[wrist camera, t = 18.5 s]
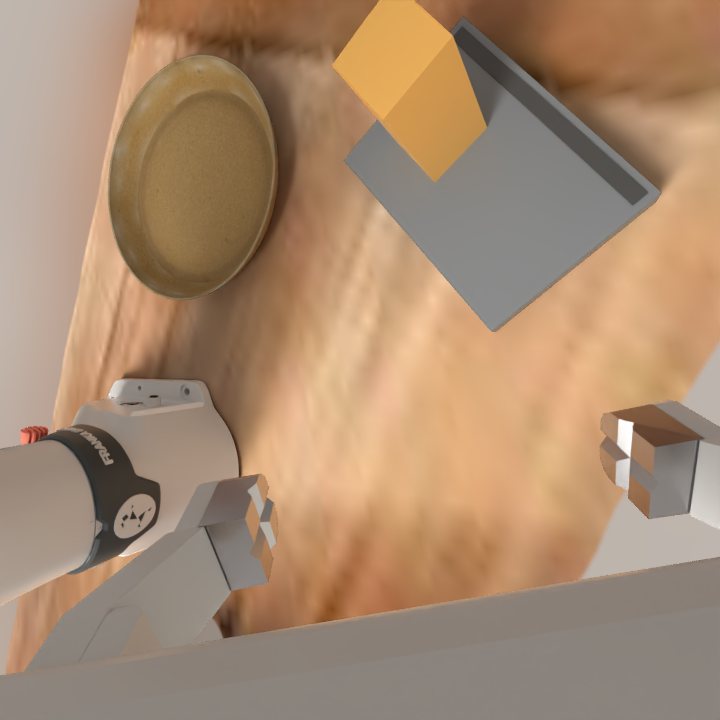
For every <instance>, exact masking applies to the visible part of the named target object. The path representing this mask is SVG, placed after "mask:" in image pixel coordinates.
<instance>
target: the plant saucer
mask: <svg viewBox="0 0 720 720" xmlns="http://www.w3.org/2000/svg"><path fill="white" fill-rule="evenodd" d="M277 186H278V153H277V145H276V139H275V134H274V129H273V126H272V122H271V119H270V116H269V113H268V111H267V108H266V106H265V104H264V102H263V100H262V98H261V96H260V94H259V92H258V90H257V89H256V87H255V86H254V84H253V83H252V81H251V80H250V79H249V78H248V76H247V75H246V74H245V73H244V72H243V71H242V70H240V69H239V68H238V67H237V66H235V65H234V64H232V63H230V62H229V61H227V60H225V59H222V58H219V57H216V56H211V55H193V56H189V57H185V58H182V59H179V60H177V61H175V62H173V63H171V64H169V65H167V66H166V67H164V68H163V69H162V70H160V71H159V72H158V73H157V74H155V75H154V76H153V77H152V78H151V79H150V80H149V81H148V82H147V83H146V84H145V86H144V87H143V88H142V89H141V91H140V92H139V93H138V94H137V96H136V97H135V99H134V101H133V102H132V104H131V105H130V107H129V109H128V111H127V113H126V115H125V117H124V119H123V121H122V124H121V126H120V129H119V131H118V134H117V138H116V141H115V145H114V148H113V152H112V157H111V163H110V169H109V179H108V206H109V215H110V222H111V226H112V230H113V235H114V238H115V242H116V245H117V247H118V250H119V252H120V254H121V256H122V259H123V260H124V262H125V264H126V266H127V267H128V269H129V270H130V272H131V273H132V274H133V276H134V277H135V278H136V279H137V280H138V281H139V282H140V283H141V284H142V285H143V286H145V287H146V288H147V289H148V290H150V291H151V292H153V293H155V294H157V295H159V296H161V297H164V298H167V299H172V300H190V299H195V298H199V297H202V296H205V295H207V294H209V293H212V292H214V291H216V290H217V289H219V288H221V287H222V286H224V285H225V284H227V283H228V282H229V281H230V280H232V279H233V278H234V277H235V276H236V275H237V274H238V273H239V272H240V271H241V270H242V269H243V268H244V267H245V266H246V264H247V263H248V262H249V260H250V259H251V258H252V256H253V255H254V253H255V252H256V250H257V248H258V247H259V245H260V243H261V241H262V239H263V237H264V235H265V233H266V231H267V228H268V225H269V223H270V220H271V216H272V213H273V209H274V204H275V199H276V194H277Z"/></svg>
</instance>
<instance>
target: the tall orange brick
mask: <svg viewBox="0 0 720 720" xmlns="http://www.w3.org/2000/svg"><path fill="white" fill-rule="evenodd" d="M332 67H333V68H334V69H335V70H336V71H337V73H338V74H339V75H340V76H341V77H342V78H343V80H344V81H345V82H346V83H347V84H348V85H349V87H350V88H351V89H352V90H353V91H354V93H355V94H356V95H357V96H358V97H359V98H360V100H361V101H362V102H363V103H364V104H365V105H366V107H367V108H368V109H369V110H370V111H371V112H372V114H373V115H374V116H375V117H376V118H377V120H378V121H379V122H380V123H381V124H382V125H383V127H384V128H385V129H386V130H387V131H388V132H389V134H390V135H391V136H392V137H393V138H394V139H395V141H396V142H397V143H398V144H399V145H400V146H401V147H402V148H403V149H404V150H405V151H406V152H407V153H408V155H409V156H410V157H411V158H412V159H413V160H414V161H415V162H416V163H417V164H418V165H419V166H420V167H421V168H422V169H423V171H424V172H425V173H426V174H427V175H428V176H429V177H430V178H431V179H432V180H433V181H434V182H436V181H437V180H438V179H439V178H440V177H441V176H442V175H443V174H444V173H445V172H446V171H447V170H448V169H449V167H450V166H451V165H452V164H453V163H454V162H455V161H456V160H457V159H458V158H459V157H460V156H461V155H462V154H463V153H464V152H465V151H466V150H467V148H468V147H469V146H470V145H471V144H472V143H473V142H474V141H475V140H476V139H477V138H478V137H479V136H480V135H481V134H482V133H483V132H484V131H485V130H486V128H487V126H486V123H485V121H484V118H483V115H482V112H481V110H480V107H479V104H478V102H477V99H476V96H475V94H474V91H473V88H472V86H471V83H470V80H469V77H468V75H467V72H466V69H465V67H464V64H463V61H462V59H461V56H460V53H459V51H458V48H457V45H456V42H455V40H454V37H453V35H452V34H451V33H450V32H448V31H447V30H446V29H445V28H444V27H443V26H442V25H441V24H440V23H438V22H437V21H436V20H435V19H434V18H433V17H432V16H431V15H430V14H429V13H427V12H426V11H425V10H424V9H423V8H422V7H421V6H420V5H419V4H417V3H416V2H415V1H414V0H379V2H378V3H377V4H376V6H375V7H374V8H373V10H372V11H371V13H370V14H369V15H368V17H367V18H366V19H365V21H364V22H363V23H362V25H361V26H360V27H359V29H358V30H357V32H356V33H355V34H354V36H353V37H352V38H351V40H350V41H349V42H348V44H347V45H346V47H345V48H344V49H343V51H342V52H341V53H340V55H339V56H338V57H337V59H336V60H335V62H334V63H333V64H332Z"/></svg>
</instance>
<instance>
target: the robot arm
mask: <svg viewBox="0 0 720 720" xmlns="http://www.w3.org/2000/svg"><path fill="white" fill-rule="evenodd" d="M189 391H190V392H189ZM600 429H601V431H602V432H603V433H604V434H605V435H606V436H607V437H606V438H605V439H604V441H603V442H602V443H601V445H600V459H601V463H602V466H603V469H604V471H605V472H606V474H607V476H608V477H609V478H610V480H611V481H612V482H613V483H614V484H615V485H617V486H620V487H622V488H624V489H627V490H628V498H629V499H630V501H632V502H633V503H634V505H635V506H636V507H637V508H638V509H639V510H640V511H641V512H642V513H643V514H644V515H645V516H646V517H647V518H648V519H653V518H659V517H667V516H674V515H681V514H688V513H690V516H693V517H694V518H696V519H698V520H700V521H702V522H705V523H707V524H709V525H711V526H713V527H715V528H717V529H719V530H720V427H719V426H717V425H716V424H714V423H712V422H711V421H709V420H707V419H705V418H704V417H702V416H700V415H699V414H697V413H695V412H693V411H692V410H690V409H689V408H687V407H685V406H684V405H682V404H680V403H679V402H677V401H672V400H667V401H662V402H657V403H653V404H648V405H645V406H640V407H635V408H629V409H624V410H619V411H614V412H609V413H604V414H603V416H602V418H601V427H600ZM47 434H48V429H47V428H46V427H41V426H40V427H38V426H34V427H28V428H24V429H22V430H21V439H22V443H21V445H18V446H13V447H7V448H2V449H0V606H2V605H3V604H5V603H7V602H9V601H11V600H13V599H15V598H17V597H19V596H21V595H23V594H25V593H27V592H29V591H31V590H33V589H35V588H37V587H39V586H41V585H43V584H45V583H47V582H49V581H51V580H53V579H56V578H58V577H60V576H62V575H64V574H71V575H72V574H78V573H80V572H83V571H85V570H88V569H91V568H95V567H97V566H100V565H102V564H104V562H105V561H107V560H110V559H112V558H114V557H116V556H118V555H119V556H128V555H131V554H134V553H136V552H139V551H142V550H144V549H146V550H145V551H144V552H142V553H141V554H140V555H139V556H137V557H136V558H135V559H134V560H132V561H131V562H130V563H128V564H127V565H126V566H125V567H123V568H122V569H121V570H120V571H118V572H117V573H116V574H114V575H113V576H112V577H111V578H109V579H108V580H107V581H106V582H104V583H103V584H102V585H100V586H99V587H98V588H97V589H95V590H94V591H93V592H92V593H90V594H89V595H88V596H86V597H85V598H84V599H83V600H81V601H80V602H79V603H78V604H76V605H75V606H74V607H73V608H71V609H70V610H69V611H67V612H66V613H65V614H64V615H63V616H62V617H61V618H60V620H59V621H58V623H57V624H56V626H55V627H54V629H53V630H52V632H51V633H50V635H49V636H48V637H47V639H46V640H45V642H44V643H43V645H42V646H41V648H40V649H39V651H38V652H37V654H36V655H35V656H34V658H33V659H32V661H31V662H30V664H29V665H28V667H27V668H26V670H25V671H24V672H19V673H13V674H7V675H1V676H0V720H720V557H716V558H711V559H704V560H698V561H692V562H686V563H680V564H674V565H669V566H661V567H656V568H649V569H643V570H637V571H631V572H625V573H619V574H613V575H606V576H600V577H595V578H588V579H582V580H576V581H570V582H564V583H558V584H552V585H546V586H540V587H534V588H528V589H522V590H516V591H510V592H504V593H498V594H492V595H486V596H480V597H474V598H468V599H462V600H456V601H450V602H444V603H438V604H432V605H426V606H420V607H414V608H408V609H402V610H396V611H390V612H384V613H377V614H371V615H365V616H359V617H353V618H347V619H341V620H335V621H329V622H323V623H317V624H311V625H305V626H299V627H292V628H286V629H280V630H274V631H268V632H262V633H256V634H250V635H244V636H238V637H232V638H226V639H220V640H214V641H207V642H201V643H195V644H192V643H193V642H194V640H195V639H196V638H197V637H198V635H199V634H200V633H201V631H202V630H203V629H204V627H205V626H206V625H207V624H208V622H209V621H210V620H211V618H212V617H213V616H214V614H215V613H216V612H217V610H218V609H219V608H220V607H221V605H222V604H223V603H224V601H225V600H226V599H227V597H228V596H229V595H230V594H231V591H232V590H237V589H242V588H247V587H252V586H257V585H262V584H267V583H268V582H269V577H270V573H271V568H272V563H273V556H272V553H271V548H272V547H273V546H274V545H275V544H276V543H277V537H278V518H277V512H276V508H275V505H274V502H272V501H271V500H269V499H268V498H267V494H268V490H269V486H268V484H267V481H266V478H265V476H264V475H262V474H256V475H250V476H243V477H239V464H238V456H237V451H236V447H235V444H234V441H233V438H232V436H231V433H230V431H229V429H228V427H227V426H226V424H225V422H224V421H223V419H222V418H221V417H220V415H219V414H218V413H217V411H216V410H215V408H214V406H213V403H212V400H211V397H210V394H209V391H208V389H207V386H206V385H205V383H204V382H202V381H199V380H171V379H138V378H124V379H118V380H116V381H115V382H114V384H113V386H112V388H111V390H110V392H109V395H108V398H107V399H103V400H96V401H91V402H87V403H85V404H84V405H83V406H82V407H81V408H80V409H79V411H78V412H77V414H76V416H75V418H74V421H73V423H72V425H71V427H67V428H62V429H60V430H57V431H56V432H55V433H52V434H49V435H47ZM147 548H148V549H147Z"/></svg>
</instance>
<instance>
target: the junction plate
mask: <svg viewBox="0 0 720 720" xmlns="http://www.w3.org/2000/svg"><path fill="white" fill-rule="evenodd" d="M450 33H451V34H452V35H453V37H454V40H455V42H456V45H457V48H458V51H459V53H460V56H461V59H462V61H463V64H464V67H465V69H466V72H467V75H468V77H469V80H470V83H471V86H472V88H473V91H474V94H475V96H476V99H477V102H478V104H479V107H480V110H481V112H482V115H483V118H484V121H485V123H486V126H487V128H486V130H485V131H484V132H483V133H482V134H481V135H480V136H479V137H478V138H477V139H476V140H475V141H474V142H473V143H472V144H471V145H470V146H469V147H468V148H467V150H466V151H465V152H464V153H463V154H462V155H461V156H460V157H459V158H458V159H457V160H456V161H455V162H454V163H453V164H452V165H451V166H450V167H449V169H448V170H447V171H446V172H445V173H444V174H443V175H442V176H441V177H440V178H439V179H438V180H437V181H436V182H434V181H433V180H432V179H431V178H430V177H429V176H428V175H427V174H426V173H425V172H424V171H423V169H422V168H421V167H420V166H419V165H418V164H417V163H416V162H415V161H414V160H413V159H412V158H411V157H410V156H409V155H408V153H407V152H406V151H405V150H404V149H403V148H402V147H401V146H400V145H399V144H398V143H397V142H396V141H395V139H394V138H393V137H392V136H391V135H390V134H389V132H388V131H387V130H386V129H385V128H384V127H383V125H382V124H381V123H380V122H379V121H378V120H377V121H376V122H375V124H374V125H373V126H372V127H371V128H370V130H369V131H368V132H367V133H366V134H365V136H364V137H363V138H362V139H361V140H360V142H359V143H358V144H357V145H356V146H355V148H354V149H353V150H352V151H351V152H350V154H349V155H348V156H347V157H346V158H345V160H344V161H345V163H346V164H347V165H348V166H349V167H350V168H351V170H352V171H353V172H354V173H355V174H356V175H357V176H358V178H359V179H360V180H361V181H362V182H363V183H364V185H365V186H366V187H367V188H368V189H369V190H370V192H371V193H372V194H373V195H374V196H375V197H376V198H377V200H378V201H379V202H380V203H381V204H382V205H383V207H384V208H385V209H386V210H387V211H388V212H389V214H390V215H391V216H392V217H393V218H394V219H395V220H396V222H397V223H398V224H399V225H400V226H401V227H402V229H403V230H404V231H405V232H406V233H407V234H408V236H409V237H410V238H411V239H412V240H413V241H414V242H415V244H416V245H417V246H418V247H419V248H420V249H421V251H422V252H423V253H424V254H425V255H426V256H427V258H428V259H429V260H430V261H431V262H432V263H433V264H434V266H435V267H436V268H437V269H438V270H439V271H440V273H441V274H442V275H443V276H444V277H445V278H446V280H447V281H448V282H449V283H450V284H451V285H452V286H453V288H454V289H455V290H456V291H457V292H458V293H459V295H460V296H461V297H462V298H463V299H464V300H465V302H466V303H467V304H468V305H469V306H470V307H471V308H472V310H473V311H474V312H475V313H476V314H477V315H478V317H479V318H480V319H481V320H482V321H483V322H484V324H485V325H486V326H487V327H488V328H489V329H490V330H491V331H492V332H496V331H497V330H499V329H500V328H501V327H502V326H503V325H505V324H506V323H507V322H508V321H510V320H511V319H512V318H513V317H515V316H516V315H517V314H518V313H519V312H521V311H522V310H523V309H524V308H526V307H527V306H528V305H529V304H531V303H532V302H533V301H534V300H536V299H537V298H538V297H539V296H540V295H542V294H543V293H544V292H545V291H547V290H548V289H549V288H550V287H552V286H553V285H554V284H555V283H557V282H558V281H559V280H560V279H561V278H563V277H564V276H565V275H566V274H568V273H569V272H570V271H571V270H573V269H574V268H575V267H576V266H578V265H579V264H580V263H581V262H582V261H584V260H585V259H586V258H587V257H589V256H590V255H591V254H592V253H594V252H595V251H596V250H597V249H599V248H600V247H601V246H602V245H603V244H605V243H606V242H607V241H608V240H610V239H611V238H612V237H613V236H615V235H616V234H617V233H618V232H620V231H621V230H622V229H623V228H624V227H626V226H627V225H628V224H629V223H631V222H632V221H633V220H634V219H636V218H637V217H638V216H639V215H641V214H642V213H643V212H644V211H645V210H647V209H648V208H649V207H650V206H652V205H653V204H654V203H655V202H656V201H657V199H658V198H659V196H660V195H661V193H662V192H661V191H659V190H658V189H657V188H656V187H655V186H654V185H653V184H651V183H650V182H649V181H648V180H647V179H646V178H645V177H644V176H642V175H641V174H640V173H639V172H638V171H637V170H636V169H635V168H633V167H632V166H631V165H630V164H629V163H628V162H627V161H626V160H624V159H623V158H622V157H621V156H620V155H619V154H618V153H617V152H615V151H614V150H613V149H612V148H611V147H610V146H609V145H608V144H606V143H605V142H604V141H603V140H602V139H601V138H600V137H599V136H597V135H596V134H595V133H594V132H593V131H592V130H591V129H590V128H588V127H587V126H586V125H585V124H584V123H583V122H582V121H580V120H579V119H578V118H577V117H576V116H575V115H574V114H573V113H571V112H570V111H569V110H568V109H567V108H566V107H565V106H564V105H562V104H561V103H560V102H559V101H558V100H557V99H556V98H555V97H553V96H552V95H551V94H550V93H549V92H548V91H547V90H546V89H544V88H543V87H542V86H541V85H540V84H539V83H538V82H537V81H535V80H534V79H533V78H532V77H531V76H530V75H529V74H528V73H526V72H525V71H524V70H523V69H522V68H521V67H520V66H518V65H517V64H516V63H515V62H514V61H513V60H512V59H511V58H509V57H508V56H507V55H506V54H505V53H504V52H503V51H502V50H500V49H499V48H498V47H497V46H496V45H495V44H494V43H493V42H491V41H490V40H489V39H488V38H487V37H486V36H485V35H484V34H482V33H481V32H480V31H479V30H478V29H477V28H476V27H475V26H473V25H472V24H471V23H470V22H469V21H468V20H467V19H466V18H464V17H462V19H461V20H460V21H459V22H458V24H457V25H456V26H455V27H454V28H453V30H452V31H451V32H450Z"/></svg>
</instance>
